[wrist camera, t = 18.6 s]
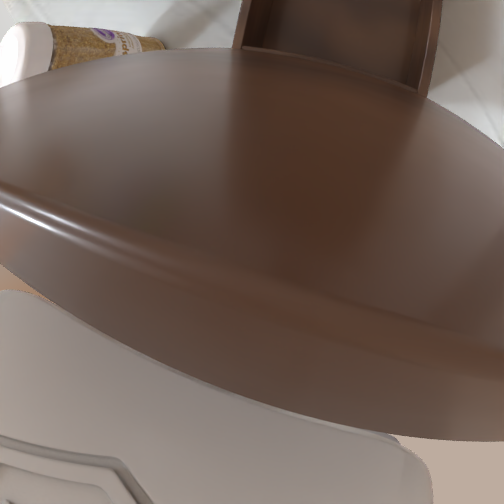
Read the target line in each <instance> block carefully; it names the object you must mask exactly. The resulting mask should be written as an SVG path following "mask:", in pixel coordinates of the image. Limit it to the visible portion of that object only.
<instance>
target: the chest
mask: <svg viewBox="0 0 504 504" xmlns="http://www.w3.org/2000/svg"><path fill="white" fill-rule="evenodd" d="M442 1H443V0H242V4H241V8H240V13H239V17H238V22H237V26H236V31H235V35H234V40H233V45H232V48H234V49H243V50H252V51H260V52H267V53H274V54H280V55H285V56H291V57H296V58H301V59H306V60H311V61H315V62H320V63H324V64H328V65H332V66H336V67H340V68H343V69H347V70H351V71H354V72H357V73H361V74H364V75H367V76H370V77H373V78H376V79H379V80H382V81H385V82H388V83H391V84H394V85H396V86H399V87H402V88H404V89H407V90H409V91H412V92H414V93H417V94H419V95H421V96H424V97H426V98H427V93H428V89H429V85H430V80H431V75H432V70H433V65H434V60H435V54H436V48H437V42H438V35H439V28H440V20H441V12H442Z"/></svg>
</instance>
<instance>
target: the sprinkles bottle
mask: <svg viewBox="0 0 504 504" xmlns="http://www.w3.org/2000/svg"><path fill="white" fill-rule="evenodd" d="M157 50H166V49H165V48H164V45H163V44H162V42H161V41H159V40H158V39H156V38H153V37H141V36H136V35H132V34H130V33H125V32H119V31H112V30H106V29H98V28H80V27H69V26H51V25H49V24H46V23H43V22H21V23H17V24H15V25H14V26H13V27H11V28H10V29H9V31H8V32H7V33H6V34H5V36H4V38H3V40H2V41H1V44H0V88H1V87H4V86H6V85H9V84H11V83H14V82H17V81H19V80H22V79H25V78H28V77H31V76H34V75H37V74H40V73H44V72H47V71H50V70H54V69H57V68H61V67H65V66H69V65H73V64H77V63H81V62H86V61H91V60H95V59H100V58H106V57H112V56H118V55H124V54H131V53H139V52H147V51H157Z"/></svg>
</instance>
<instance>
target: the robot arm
mask: <svg viewBox="0 0 504 504" xmlns="http://www.w3.org/2000/svg"><path fill="white" fill-rule="evenodd" d="M0 504H433V490H432V481H431V476H430V473H429V470H428V468H427V466H426V464H425V463H424V462H423V460H422V459H421V458H420V457H419V456H417V455H416V454H415V453H414V452H412V451H411V450H409V449H408V448H406V447H404V446H402V445H401V444H400V443H399V441H398V440H397V439H396V438H395V437H393V436H391V435H389V434H387V433H382V432H376V431H370V430H365V429H360V428H355V427H350V426H345V425H341V424H336V423H332V422H328V421H324V420H320V419H316V418H312V417H308V416H304V415H301V414H297V413H294V412H290V411H287V410H283V409H280V408H277V407H274V406H270V405H267V404H264V403H261V402H258V401H255V400H252V399H249V398H246V397H243V396H241V395H238V394H235V393H232V392H230V391H227V390H224V389H222V388H219V387H217V386H214V385H211V384H209V383H206V382H204V381H202V380H199V379H197V378H194V377H192V376H190V375H187V374H185V373H183V372H180V371H178V370H176V369H174V368H171V367H169V366H167V365H165V364H163V363H161V362H158V361H156V360H154V359H152V358H150V357H148V356H146V355H144V354H142V353H140V352H138V351H136V350H134V349H132V348H130V347H128V346H126V345H124V344H123V343H121V342H119V341H117V340H115V339H113V338H111V337H110V336H108V335H106V334H104V333H102V332H101V331H99V330H97V329H96V328H94V327H92V326H90V325H89V324H87V323H85V322H84V321H82V320H80V319H79V318H77V317H75V316H74V315H72V314H71V313H69V312H67V311H66V310H64V309H63V308H61V307H59V306H58V305H56V304H54V303H52V302H50V301H48V300H46V299H44V298H42V297H40V296H37V295H34V294H32V293H29V292H25V291H20V290H3V291H0Z"/></svg>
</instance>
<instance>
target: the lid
mask: <svg viewBox="0 0 504 504" xmlns="http://www.w3.org/2000/svg"><path fill="white" fill-rule="evenodd" d="M0 264H1V265H3V266H4V267H5V268H6V269H8V270H9V271H10V272H12V273H13V274H14V275H15V276H17V277H18V278H19V279H21V280H22V281H23V282H25V283H26V284H28V285H29V286H30V287H32V288H33V289H35V290H36V291H37V292H39V293H41V294H42V295H43V296H45V297H46V298H48V299H49V300H51V301H52V302H54V303H55V304H57V305H58V306H60V307H61V308H63V309H64V310H66V311H67V312H69V313H71V314H72V315H74V316H75V317H77V318H79V319H80V320H82V321H84V322H85V323H87V324H89V325H90V326H92V327H94V328H96V329H97V330H99V331H101V332H102V333H104V334H106V335H108V336H110V337H111V338H113V339H115V340H117V341H119V342H121V343H123V344H124V345H126V346H128V347H130V348H132V349H134V350H136V351H138V352H140V353H142V354H144V355H146V356H148V357H150V358H152V359H154V360H156V361H158V362H161V363H163V364H165V365H167V366H169V367H171V368H174V369H176V370H178V371H180V372H183V373H185V374H187V375H190V376H192V377H194V378H197V379H199V380H202V381H204V382H206V383H209V384H211V385H214V386H217V387H219V388H222V389H224V390H227V391H230V392H232V393H235V394H238V395H241V396H243V397H246V398H249V399H252V400H255V401H258V402H261V403H264V404H267V405H270V406H274V407H277V408H280V409H283V410H287V411H290V412H294V413H297V414H301V415H304V416H308V417H312V418H316V419H320V420H324V421H328V422H332V423H336V424H341V425H345V426H350V427H355V428H360V429H365V430H370V431H376V432H382V433H388V434H395V435H402V436H409V437H418V438H427V439H438V440H452V441H481V442H489V441H491V442H492V441H493V442H495V441H504V149H503V148H502V147H501V146H500V145H498V144H497V143H496V142H494V141H493V140H492V139H490V138H489V137H488V136H486V135H485V134H483V133H482V132H481V131H479V130H478V129H476V128H475V127H474V126H472V125H471V124H469V123H468V122H466V121H465V120H463V119H462V118H460V117H458V116H457V115H455V114H454V113H452V112H450V111H449V110H447V109H446V108H444V107H442V106H440V105H439V104H437V103H435V102H434V101H432V100H430V99H428V98H426V97H424V96H421V95H419V94H417V93H414V92H412V91H409V90H407V89H404V88H402V87H399V86H396V85H394V84H391V83H388V82H385V81H382V80H379V79H376V78H373V77H370V76H367V75H364V74H361V73H357V72H354V71H351V70H347V69H343V68H340V67H336V66H332V65H328V64H324V63H320V62H315V61H311V60H306V59H301V58H296V57H291V56H285V55H280V54H274V53H267V52H260V51H252V50H243V49H234V48H187V49H170V50H157V51H147V52H139V53H131V54H124V55H118V56H112V57H106V58H100V59H95V60H91V61H86V62H81V63H77V64H73V65H69V66H65V67H61V68H57V69H54V70H50V71H47V72H44V73H40V74H37V75H34V76H31V77H28V78H25V79H22V80H19V81H17V82H14V83H11V84H9V85H6V86H4V87H1V88H0Z"/></svg>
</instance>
